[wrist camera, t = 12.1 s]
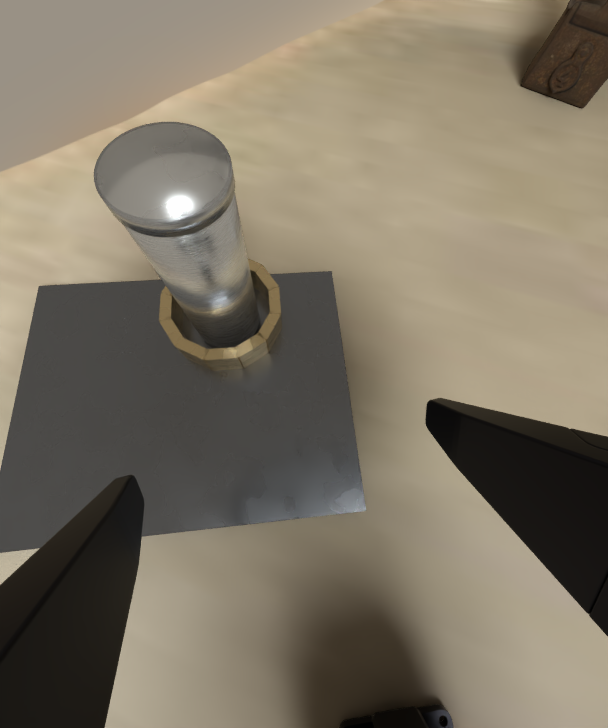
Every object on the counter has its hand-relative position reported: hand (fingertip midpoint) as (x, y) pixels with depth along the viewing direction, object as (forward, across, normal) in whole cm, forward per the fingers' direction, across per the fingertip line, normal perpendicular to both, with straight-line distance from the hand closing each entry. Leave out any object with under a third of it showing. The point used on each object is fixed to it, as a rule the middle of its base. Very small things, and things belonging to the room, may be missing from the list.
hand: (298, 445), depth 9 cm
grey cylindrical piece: (+17, +1, 0) cm, 17 cm away
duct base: (+15, +5, +4) cm, 16 cm away
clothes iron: (+31, -46, -23) cm, 60 cm away
